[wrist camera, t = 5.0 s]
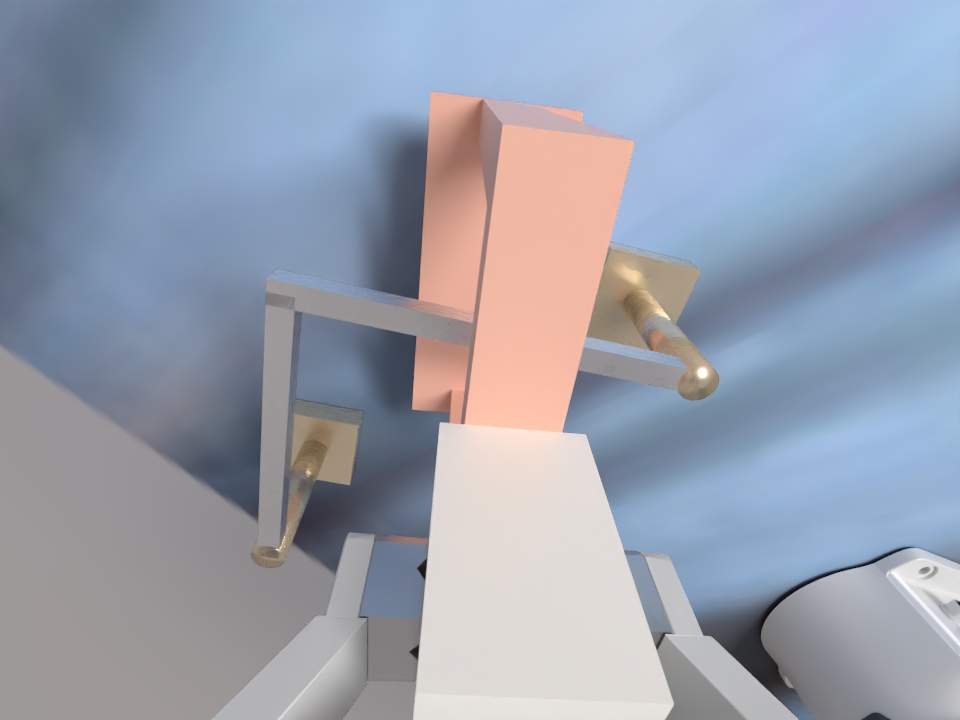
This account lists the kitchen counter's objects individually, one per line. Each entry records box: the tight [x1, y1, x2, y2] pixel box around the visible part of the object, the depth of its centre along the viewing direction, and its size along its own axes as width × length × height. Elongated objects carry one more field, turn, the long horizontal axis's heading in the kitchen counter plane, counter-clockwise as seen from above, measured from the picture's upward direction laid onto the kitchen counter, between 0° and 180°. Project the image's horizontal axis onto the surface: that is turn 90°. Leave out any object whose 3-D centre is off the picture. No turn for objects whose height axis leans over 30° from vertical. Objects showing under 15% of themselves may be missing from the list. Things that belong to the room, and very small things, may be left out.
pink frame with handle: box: [412, 91, 674, 720], centre depth 15 cm, size 6×15×20 cm, turn 173°
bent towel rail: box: [251, 242, 719, 568], centre depth 26 cm, size 21×19×10 cm
